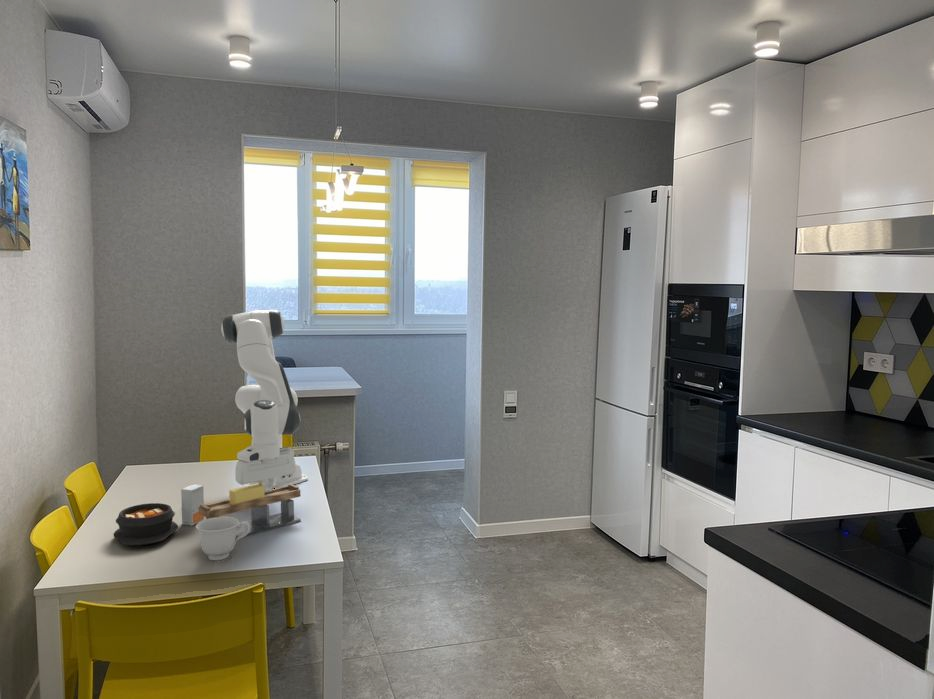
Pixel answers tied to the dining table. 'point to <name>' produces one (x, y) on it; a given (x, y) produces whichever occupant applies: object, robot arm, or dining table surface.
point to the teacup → (219, 535)
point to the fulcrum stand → (269, 518)
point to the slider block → (246, 493)
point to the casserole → (145, 524)
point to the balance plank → (249, 502)
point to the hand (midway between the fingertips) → (266, 492)
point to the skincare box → (192, 504)
